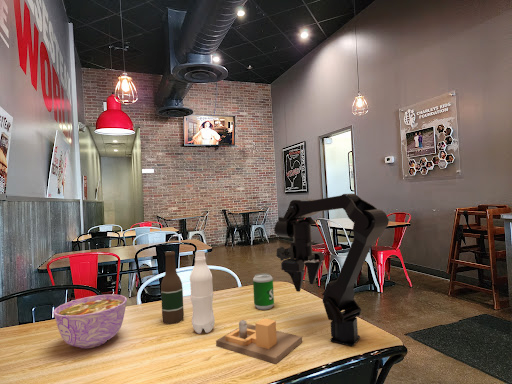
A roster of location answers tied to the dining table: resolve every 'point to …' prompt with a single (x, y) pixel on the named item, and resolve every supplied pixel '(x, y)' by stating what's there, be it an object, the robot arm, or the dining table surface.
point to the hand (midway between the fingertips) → (305, 287)
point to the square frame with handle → (257, 335)
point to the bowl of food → (90, 319)
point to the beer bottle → (171, 293)
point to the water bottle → (202, 295)
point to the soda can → (263, 291)
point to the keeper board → (272, 355)
